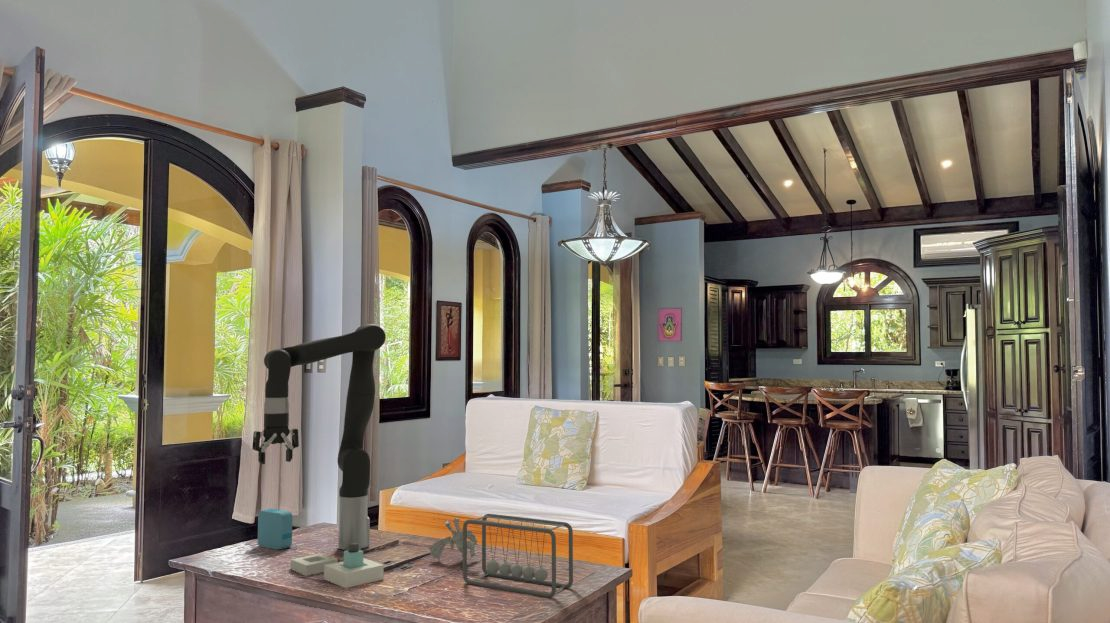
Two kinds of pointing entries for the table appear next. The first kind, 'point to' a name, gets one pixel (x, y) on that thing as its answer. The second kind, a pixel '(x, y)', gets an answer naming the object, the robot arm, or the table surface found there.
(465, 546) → the newton's cradle
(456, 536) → the fairy figurine
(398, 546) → the table surface
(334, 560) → the holster
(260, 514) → the data package
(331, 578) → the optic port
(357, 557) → the plug
